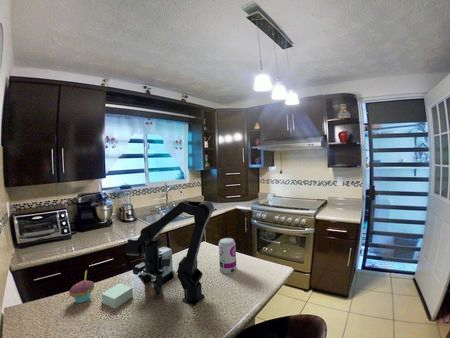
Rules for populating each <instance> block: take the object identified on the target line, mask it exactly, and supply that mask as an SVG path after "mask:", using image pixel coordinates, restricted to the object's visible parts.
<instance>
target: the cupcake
mask: <svg viewBox="0 0 450 338" xmlns="http://www.w3.org/2000/svg"><path fill="white" fill-rule="evenodd" d="M87 274H88V269H87V268H86V270H85V271H84V280H81V281H79V282H77V283H74V285H72V286H71V288H70V289H69V292H68V293H69V294H68V295H69V296H70V297H72V298H73V299H74V300H75V303H76V304H81V303H85V302H87V301H89V300H90V298H91V293H92V291H93V290H94V289H95V283H94V281H92V280H87Z"/></svg>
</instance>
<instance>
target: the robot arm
mask: <svg viewBox="0 0 450 338" xmlns="http://www.w3.org/2000/svg"><path fill="white" fill-rule="evenodd" d="M214 210H215V207H214V204H213V203H212V202H211V201H208V200H204V201H203V202H202V201H197V200H195V201H192V200H187V199H186V200H185V199H183V200H182V201H180V202H178V203H177V205H176V206H174V207H173V208H171V209H170V210H169V211H168V212H167V213H166V214H164V215H163V216H161V217H160V218H159V219H158V220H156V221H154V222H152V223H150V224H148V225H147V226H145V227H143V228H142V229H141V230H140V233H139V234H140V235H139V236H138V238H137V237H130V238H128V239H127V243H126V245H125V249H124V252H125V255H126V256H139V257H140V256H142V255H143V254H144V255H143V256H144V258H143V259H141V261H142V262H140V263H139V264H136V265H135V266H134V267H133V268H132V274H133V275H135V276H137V278H139V280H140V281H141V283H142V284H143V286H144V285H145V284H147V283H148V282H150V281H152V277H151V276H156V280H155V281H153V282H152V283H153V286H154V288H155V291H156V294H157V295H159V294H160V291H161V288H162V285H163V286H165V284H167V283H169V282H170V281H171V280H173V279H175V277H174V276H175V275H174V271H173V270H172V271H169V270H164V271H163V272H161V271H160V269H163V267H165V266H168V267H169V266H170V261H171V258H167V257H163V256H162V254H159V249H160V247H161V246H162V245H163V244H164V240H161V239H160V238H159V237H158V236H159V235H160V234H162V232H163V231H164V229H165V228H166V227H167V226H168V225H169V224H170V223H172V222H173V221H174V220H175V219H176V218H179V217H180V216H181V215H182V214H183V213H185V214H187V215H189V216H193V220H194V221H193V222H194V226H193V230H192V234H191V236H190V240H189V244H188V245H189V246H188V248H187V251H186V254H185V255H186V256H184V257H182V259H181V260H180V262H178V265H177V266H178V268H177V270H176V272H175V273H176V274H177V279H178V281H179V282H180V285H181V286H182V289H183V296H184V297H182V299H181V301H182V302H184V303H187V304H189V305H192V306H196V305H197V304H198V303H199V302H200V301H201V300H203V299H204V298H205V294H203V291H202V290H203V288H202V283H201V279H202V277H203V272H202V271H201V270H200V269H199V268H198V255H199V251H200V247H201V243H202V240H203V237H204V233H205V229H206V226H207V224H208V222H209V221H210V220H211V217H212V214H213V212H214ZM157 237H158V238H157ZM155 238H156V239H155Z"/></svg>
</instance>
